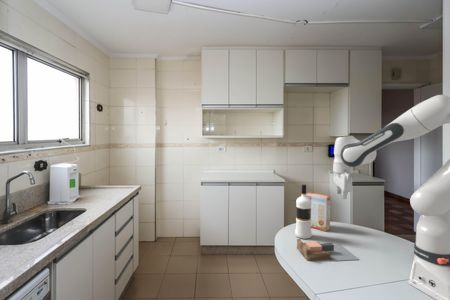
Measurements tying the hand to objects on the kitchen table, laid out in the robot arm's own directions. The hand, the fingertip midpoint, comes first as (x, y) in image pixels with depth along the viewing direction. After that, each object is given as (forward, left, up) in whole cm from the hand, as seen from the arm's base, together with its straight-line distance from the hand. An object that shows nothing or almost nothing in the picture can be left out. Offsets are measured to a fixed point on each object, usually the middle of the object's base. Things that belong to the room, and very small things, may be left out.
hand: (341, 196), depth 125 cm
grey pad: (-1, +2, -28) cm, 28 cm away
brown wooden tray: (-1, +14, -28) cm, 31 cm away
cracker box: (+32, -3, -28) cm, 43 cm away
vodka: (+20, +11, -28) cm, 36 cm away
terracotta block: (-1, +11, -28) cm, 30 cm away
